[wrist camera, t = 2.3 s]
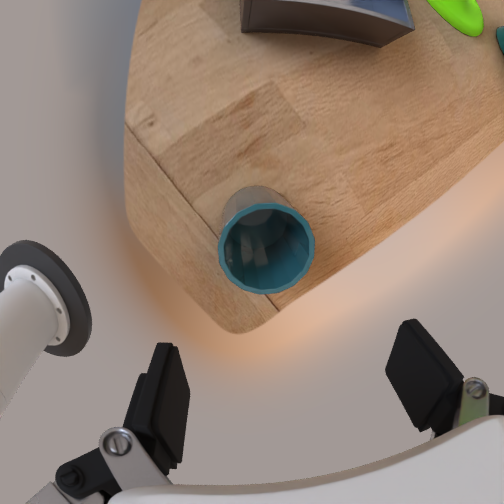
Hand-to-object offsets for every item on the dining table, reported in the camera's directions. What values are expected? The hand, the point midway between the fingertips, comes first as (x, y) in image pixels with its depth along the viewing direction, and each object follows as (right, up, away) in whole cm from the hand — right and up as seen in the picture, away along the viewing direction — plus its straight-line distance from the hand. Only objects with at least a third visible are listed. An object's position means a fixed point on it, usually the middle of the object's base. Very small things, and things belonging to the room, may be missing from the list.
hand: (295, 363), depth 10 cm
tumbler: (-1, +8, +17) cm, 18 cm away
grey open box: (+4, +32, +8) cm, 34 cm away
